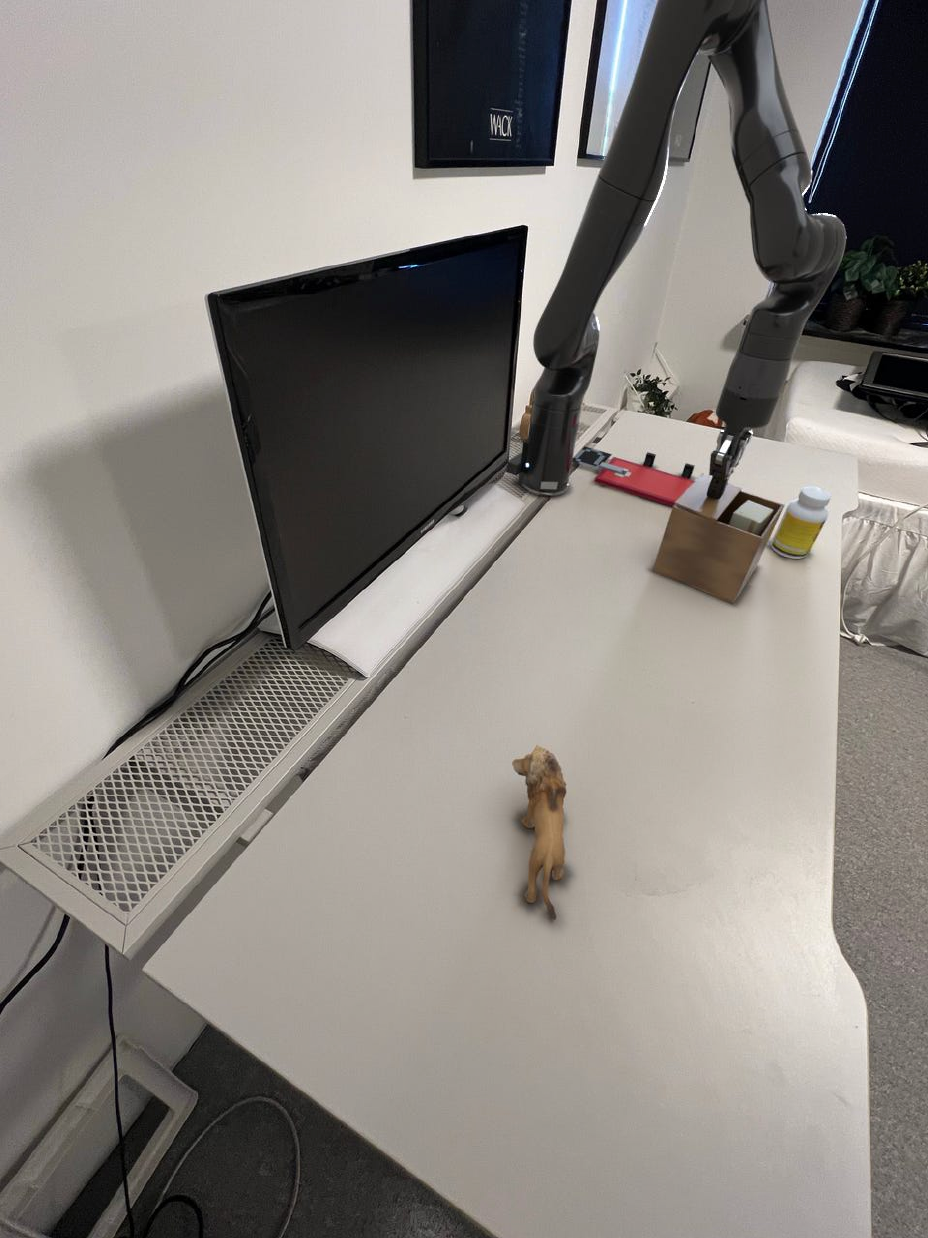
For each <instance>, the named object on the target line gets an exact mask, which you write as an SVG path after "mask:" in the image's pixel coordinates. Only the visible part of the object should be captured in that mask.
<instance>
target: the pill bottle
mask: <svg viewBox="0 0 928 1238" xmlns="http://www.w3.org/2000/svg"><path fill="white" fill-rule="evenodd" d="M831 499H832V495H831V494H830V492H829V491H827V490H825V489H823V488H821V487H817V486H807V485H806V486H804V487H802V488H801V490H800V492H799V493H798V499H793V500H792V501H790V502H789V503H788V505H787V506H786V508H785V511H784V513H783V515H782V517H781V519H780V522H779V524H778V526H777V529H776V531H775V533H774V535H773V537H772V540H771V541H770V545H771V549H772V550H773V551H774V552H776V553H777V554H778V555H780V556H782V557H785V558H788V559H793V560H801V559H804V558H807V556H808V555H809V554H810V552H811V550H812V548H813V546H814V545H815V543H816V540H817V538H818V536H819V535H820V533H821V531H822V529H823V527H824V525H825V524H826V522H827V520H828V518H829V511H828V509H827V507H826V506H828V504H829V503H830V501H831Z"/></svg>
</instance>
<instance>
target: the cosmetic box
mask: <svg viewBox="0 0 928 1238" xmlns="http://www.w3.org/2000/svg"><path fill="white" fill-rule="evenodd" d="M772 512H773V509H770V508H767V507H765V506H762V505H760V504H757V503H755V502H752V501H750V500H748V501H746V502H745V503H744V504H743V505H741V506H740V507H739V508H738V509H737V510H736V511H735V512H734V513H733V515H732V517H731V520H730V522H729V526H732V527H735V528H738V529H741V530H743V531H746V532H749V533H752V534H755V535H757V536H760V537H761V536H762V534H763V532H764V530H765V528H766V526H767V523H768V521H769V519H770V517H771V514H772Z"/></svg>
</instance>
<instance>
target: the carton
mask: <svg viewBox="0 0 928 1238" xmlns="http://www.w3.org/2000/svg"><path fill="white" fill-rule="evenodd" d="M748 500H750V501H752V502H755V503H757V504H760V505H762V506H765V507H767V508H770V509H773V512H772V514H771V517H770V519H769V521H768V523H767V526H766V528H765V530H764V532H763V534H762V536H761V537H760V536H757V535H755V534H752V533H749V532H746V531H743V530H741V529H738V528H735V527H732V526H729V522H730V520H731V517H732V515H733V513H734V512H735V511H736V510H737V509H738V508H739V507H740V506H741V505H743V504H744V503H745V502H746V501H748ZM785 506H786V505H785V504H783V503H780V502H777V501H775V500H772V499H768V498H766V497H762V496H759V495H756V494H753V493H750V492H747V491H744V490H741V491H740V492H739V493H738V495H737V496H736V497H735V498H734V500H733V501H732V502H731V503H730V505H729V506H728V507H727V508H726V510H725V511H724V512H723V513H722V515H721V516H720V517H719V518H718V520H717V521H716V522H715V521H713V520H711V519H708V518H706V517H703V516H701V515H699V514H696V513H694V512H691V511H689V510H687V509H684V508H682V507H679V506H677V505H674V506H672V508H671V512H670V515H669V517H668V521H667V524H666V527H665V529H664V532H663V536H662V540H661V542H660V545H659V549H658V551H657V554H656V558H655V561H654V564H653V567H652V572H654V573H657V574H660V575H662V576H665V577H667V578H668V579H671V580H674V581H677V582H678V583H681V584H684V585H686V586H688V587H691V588H693V589H696V590H698V591H701V592H703V593H706V594H707V595H710V596H713V597H716V598H718V599H720V600H723V601H725V602H728V603H730V604H732V605H734V604H735V602H736V600H737V599H738V597H739V596H740V594H741V592H742V591H743V589H744V588H745V586H746V585H747V583H748V581H749V580H750V578H751V576H752V575H753V573H754V571H756V568H757V567H758V564H759V562H760V561H761V558H762V556H763V554H764V551H765V549H766V547H767V546H768V542H769V540H770V538H771V536H772V534H773V532H774V530H775V527H776V526H777V523H778V521H779V519H780V516H781V515H782V512H783V510H784V509H785Z"/></svg>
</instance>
